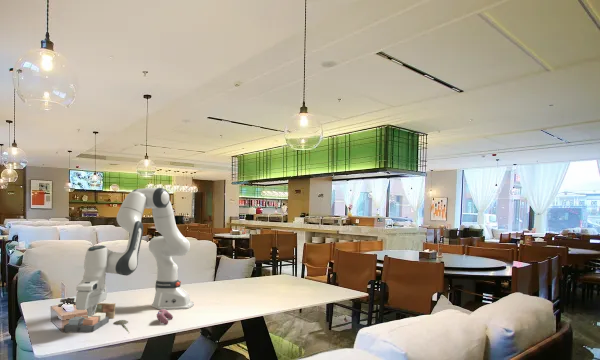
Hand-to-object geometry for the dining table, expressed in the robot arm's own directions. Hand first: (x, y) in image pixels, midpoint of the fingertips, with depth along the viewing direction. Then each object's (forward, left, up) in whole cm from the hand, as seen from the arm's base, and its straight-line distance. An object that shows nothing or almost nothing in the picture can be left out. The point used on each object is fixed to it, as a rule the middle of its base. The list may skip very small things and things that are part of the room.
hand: (91, 315), depth 159 cm
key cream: (0, -7, -4) cm, 8 cm away
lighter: (+20, -18, -7) cm, 28 cm away
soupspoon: (-13, -5, -8) cm, 15 cm away
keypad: (+3, -4, -7) cm, 8 cm away
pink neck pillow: (-27, -16, -7) cm, 32 cm away
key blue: (+6, 0, -4) cm, 7 cm away
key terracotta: (0, 0, -4) cm, 4 cm away
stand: (+3, -17, -7) cm, 19 cm away
